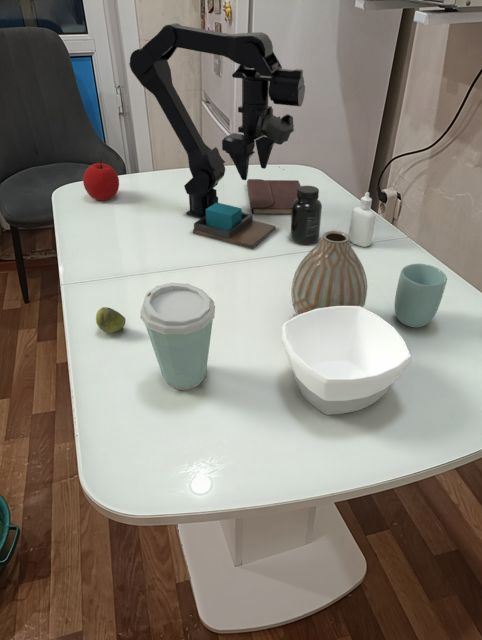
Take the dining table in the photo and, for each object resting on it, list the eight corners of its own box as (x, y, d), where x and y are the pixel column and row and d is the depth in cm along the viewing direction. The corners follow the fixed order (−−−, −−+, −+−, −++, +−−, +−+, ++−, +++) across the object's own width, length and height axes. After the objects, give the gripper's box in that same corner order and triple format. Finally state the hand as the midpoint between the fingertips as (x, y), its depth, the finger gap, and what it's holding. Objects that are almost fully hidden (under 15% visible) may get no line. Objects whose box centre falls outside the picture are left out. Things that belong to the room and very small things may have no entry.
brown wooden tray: (193, 233, 121) (192, 223, 119) (219, 215, 130) (218, 205, 128) (252, 249, 116) (252, 239, 114) (275, 229, 124) (276, 219, 123)
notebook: (298, 185, 147) (299, 178, 146) (309, 214, 132) (309, 207, 130) (246, 185, 146) (247, 178, 145) (251, 214, 131) (251, 207, 129)
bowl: (313, 442, 71) (320, 393, 65) (262, 365, 84) (264, 318, 78) (417, 408, 77) (432, 361, 71) (355, 341, 90) (363, 296, 84)
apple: (89, 190, 139) (82, 153, 133) (123, 190, 140) (117, 153, 134) (83, 204, 132) (76, 165, 126) (119, 204, 133) (113, 165, 127)
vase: (305, 297, 101) (313, 213, 90) (369, 315, 96) (386, 229, 85) (277, 332, 91) (282, 242, 80) (346, 354, 87) (362, 263, 76)
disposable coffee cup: (226, 362, 84) (224, 284, 75) (205, 407, 76) (201, 326, 67) (165, 352, 86) (156, 274, 76) (139, 394, 78) (125, 313, 68)
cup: (409, 337, 91) (422, 289, 85) (382, 315, 97) (392, 268, 90) (442, 326, 94) (456, 279, 88) (414, 305, 100) (426, 259, 93)
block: (231, 231, 120) (231, 215, 118) (206, 225, 122) (205, 209, 120) (241, 224, 124) (241, 208, 121) (216, 217, 126) (216, 202, 123)
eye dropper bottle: (363, 236, 123) (371, 187, 115) (372, 247, 118) (381, 197, 111) (346, 237, 122) (353, 188, 114) (354, 248, 118) (362, 198, 110)
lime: (96, 326, 91) (92, 303, 88) (124, 321, 92) (120, 298, 89) (100, 341, 88) (95, 317, 84) (128, 335, 89) (125, 311, 86)
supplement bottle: (318, 233, 123) (324, 184, 116) (318, 246, 118) (324, 196, 110) (290, 231, 124) (294, 182, 116) (288, 244, 118) (292, 193, 111)
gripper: (267, 116, 101) (265, 193, 110) (307, 98, 114) (302, 168, 123) (219, 108, 105) (221, 183, 114) (263, 92, 118) (261, 160, 127)
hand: (254, 173), depth 120 cm, fingers open, 9 cm apart
